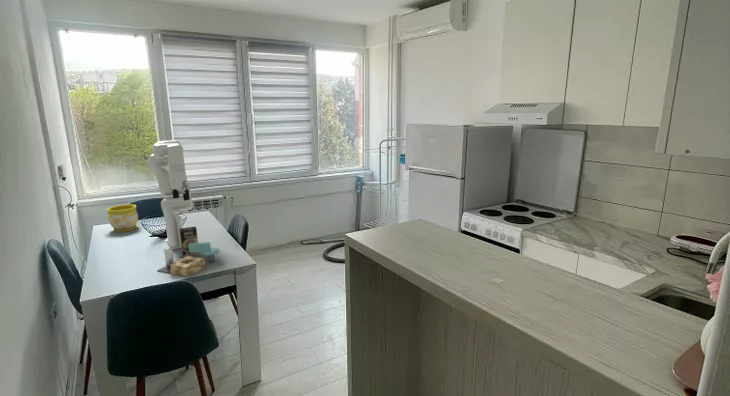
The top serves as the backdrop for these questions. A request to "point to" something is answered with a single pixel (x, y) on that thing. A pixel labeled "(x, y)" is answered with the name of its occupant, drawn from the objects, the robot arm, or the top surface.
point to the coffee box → (188, 240)
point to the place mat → (164, 270)
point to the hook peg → (168, 257)
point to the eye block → (187, 266)
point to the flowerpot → (123, 217)
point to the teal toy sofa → (204, 250)
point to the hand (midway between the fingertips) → (181, 199)
